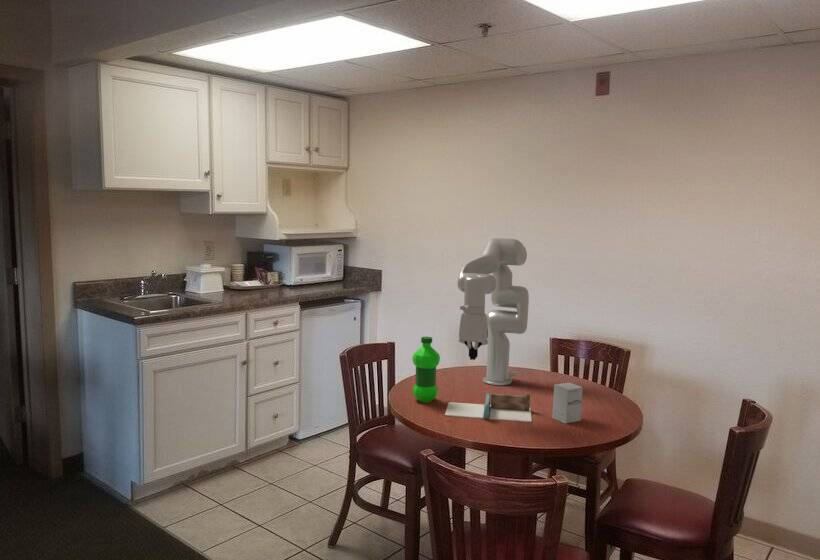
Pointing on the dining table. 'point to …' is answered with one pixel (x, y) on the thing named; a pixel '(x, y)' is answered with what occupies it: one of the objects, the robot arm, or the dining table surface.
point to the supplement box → (567, 402)
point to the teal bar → (487, 406)
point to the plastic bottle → (425, 371)
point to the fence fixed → (510, 402)
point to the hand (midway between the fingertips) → (473, 358)
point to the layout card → (494, 413)
